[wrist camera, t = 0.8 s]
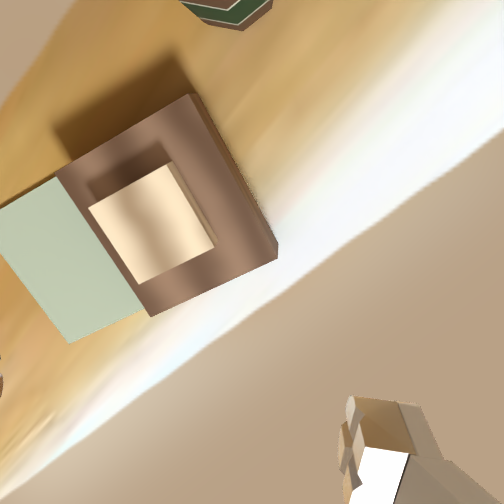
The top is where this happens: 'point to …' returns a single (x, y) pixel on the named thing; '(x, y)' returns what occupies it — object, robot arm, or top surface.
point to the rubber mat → (64, 262)
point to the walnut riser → (200, 185)
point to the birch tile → (154, 223)
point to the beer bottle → (229, 12)
